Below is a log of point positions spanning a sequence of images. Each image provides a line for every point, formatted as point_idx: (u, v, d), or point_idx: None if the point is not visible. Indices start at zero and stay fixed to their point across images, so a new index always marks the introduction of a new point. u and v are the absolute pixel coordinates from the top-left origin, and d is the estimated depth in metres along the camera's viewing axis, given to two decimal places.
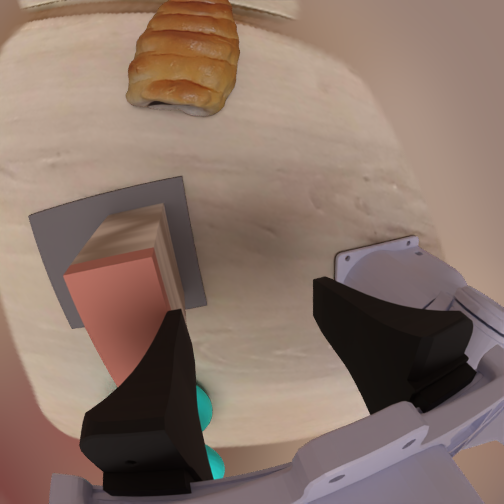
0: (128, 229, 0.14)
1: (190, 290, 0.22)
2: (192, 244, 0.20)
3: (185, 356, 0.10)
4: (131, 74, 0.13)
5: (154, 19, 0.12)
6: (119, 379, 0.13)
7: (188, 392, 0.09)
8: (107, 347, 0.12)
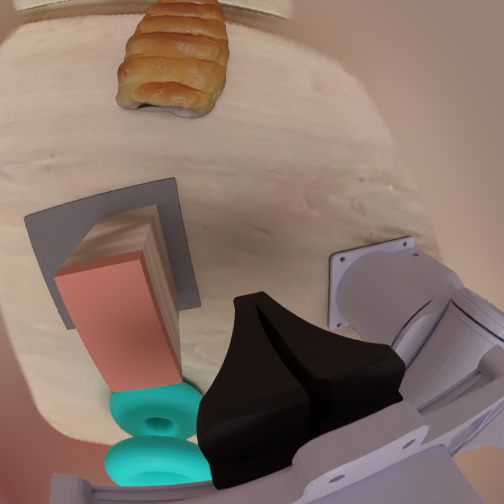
0: (119, 231, 0.14)
1: (183, 291, 0.22)
2: (185, 245, 0.20)
3: None
4: (120, 77, 0.13)
5: (143, 21, 0.12)
6: (111, 380, 0.12)
7: None
8: (97, 348, 0.12)
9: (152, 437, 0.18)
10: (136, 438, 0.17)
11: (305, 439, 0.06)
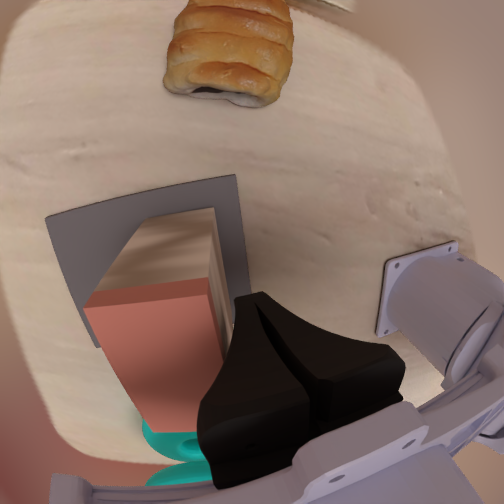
0: (171, 242, 0.12)
1: None
2: (244, 252, 0.18)
3: None
4: (173, 54, 0.11)
5: None
6: (153, 422, 0.10)
7: None
8: (140, 390, 0.09)
9: (203, 464, 0.16)
10: (184, 466, 0.15)
11: (305, 439, 0.06)
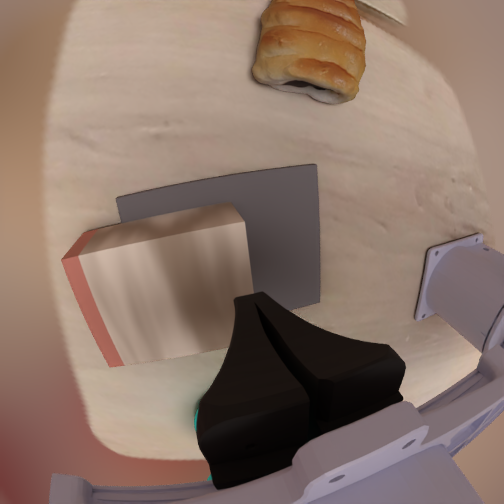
0: (149, 228, 0.14)
1: (307, 287, 0.20)
2: (318, 237, 0.19)
3: None
4: (269, 46, 0.12)
5: None
6: None
7: None
8: None
9: None
10: None
11: (305, 439, 0.06)
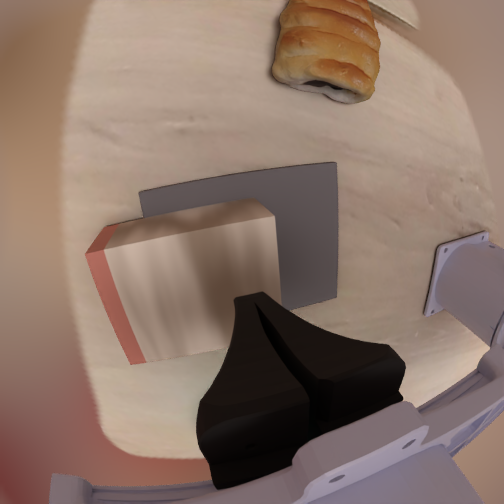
0: (176, 223, 0.14)
1: (324, 282, 0.21)
2: (336, 233, 0.19)
3: None
4: (290, 46, 0.12)
5: None
6: None
7: None
8: None
9: None
10: None
11: (305, 439, 0.06)
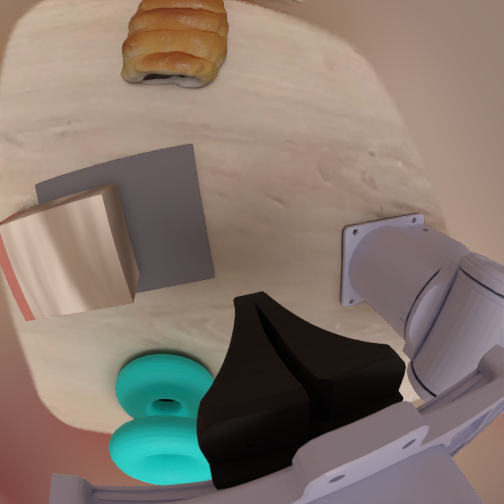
0: (48, 205, 0.15)
1: (197, 261, 0.21)
2: (201, 212, 0.20)
3: None
4: (125, 51, 0.13)
5: (144, 1, 0.12)
6: None
7: None
8: None
9: (161, 416, 0.18)
10: (144, 418, 0.17)
11: (305, 439, 0.06)
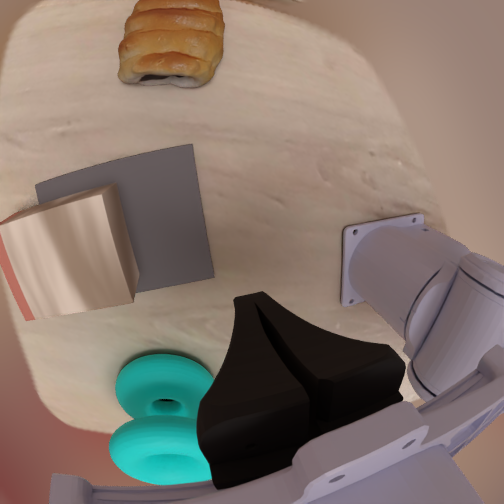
0: (48, 205, 0.15)
1: (197, 261, 0.21)
2: (201, 212, 0.20)
3: None
4: (121, 52, 0.13)
5: (139, 2, 0.12)
6: None
7: None
8: None
9: (161, 416, 0.18)
10: (144, 417, 0.17)
11: (305, 439, 0.06)
